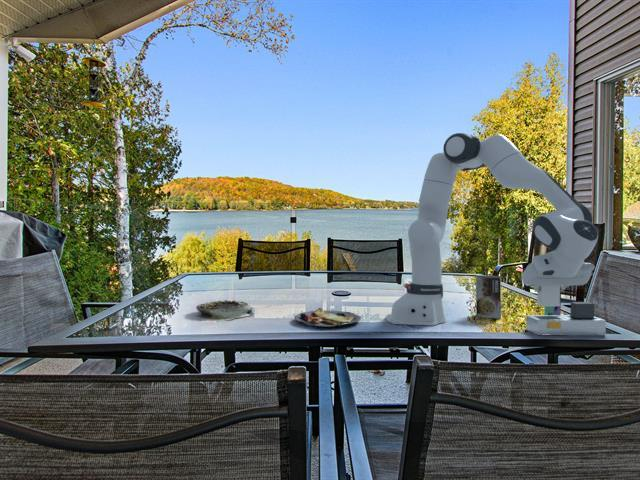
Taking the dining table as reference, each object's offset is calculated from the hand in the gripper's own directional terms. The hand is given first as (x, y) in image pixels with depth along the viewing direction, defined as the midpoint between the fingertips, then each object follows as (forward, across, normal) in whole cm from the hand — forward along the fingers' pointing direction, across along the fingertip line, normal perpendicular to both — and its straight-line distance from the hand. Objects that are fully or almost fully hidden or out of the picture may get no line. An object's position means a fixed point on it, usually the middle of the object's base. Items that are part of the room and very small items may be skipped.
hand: (547, 290), depth 143 cm
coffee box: (+28, +10, -7) cm, 30 cm away
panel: (+3, 0, +4) cm, 5 cm away
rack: (+10, -6, +10) cm, 15 cm away
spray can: (+23, -12, -3) cm, 26 cm away
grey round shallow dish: (+33, +118, -13) cm, 123 cm away
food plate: (+22, +74, -2) cm, 78 cm away
